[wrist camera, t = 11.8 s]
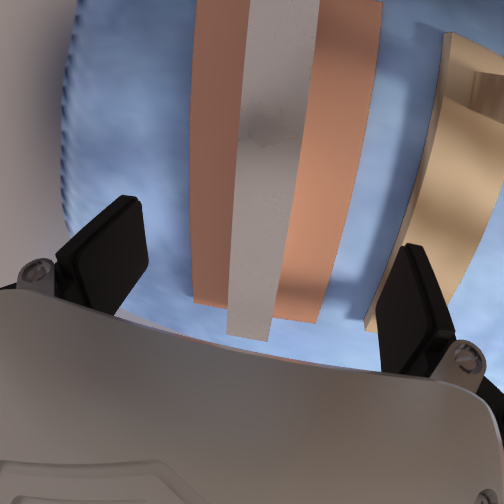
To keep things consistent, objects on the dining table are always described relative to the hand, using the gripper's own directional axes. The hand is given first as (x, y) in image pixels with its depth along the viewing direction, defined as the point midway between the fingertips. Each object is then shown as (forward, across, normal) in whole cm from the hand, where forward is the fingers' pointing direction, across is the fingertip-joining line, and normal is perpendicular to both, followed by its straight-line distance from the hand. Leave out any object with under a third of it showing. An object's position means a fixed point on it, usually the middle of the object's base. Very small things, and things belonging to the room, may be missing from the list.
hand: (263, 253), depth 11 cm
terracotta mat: (+9, +1, 0) cm, 9 cm away
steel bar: (+8, +1, 0) cm, 9 cm away
